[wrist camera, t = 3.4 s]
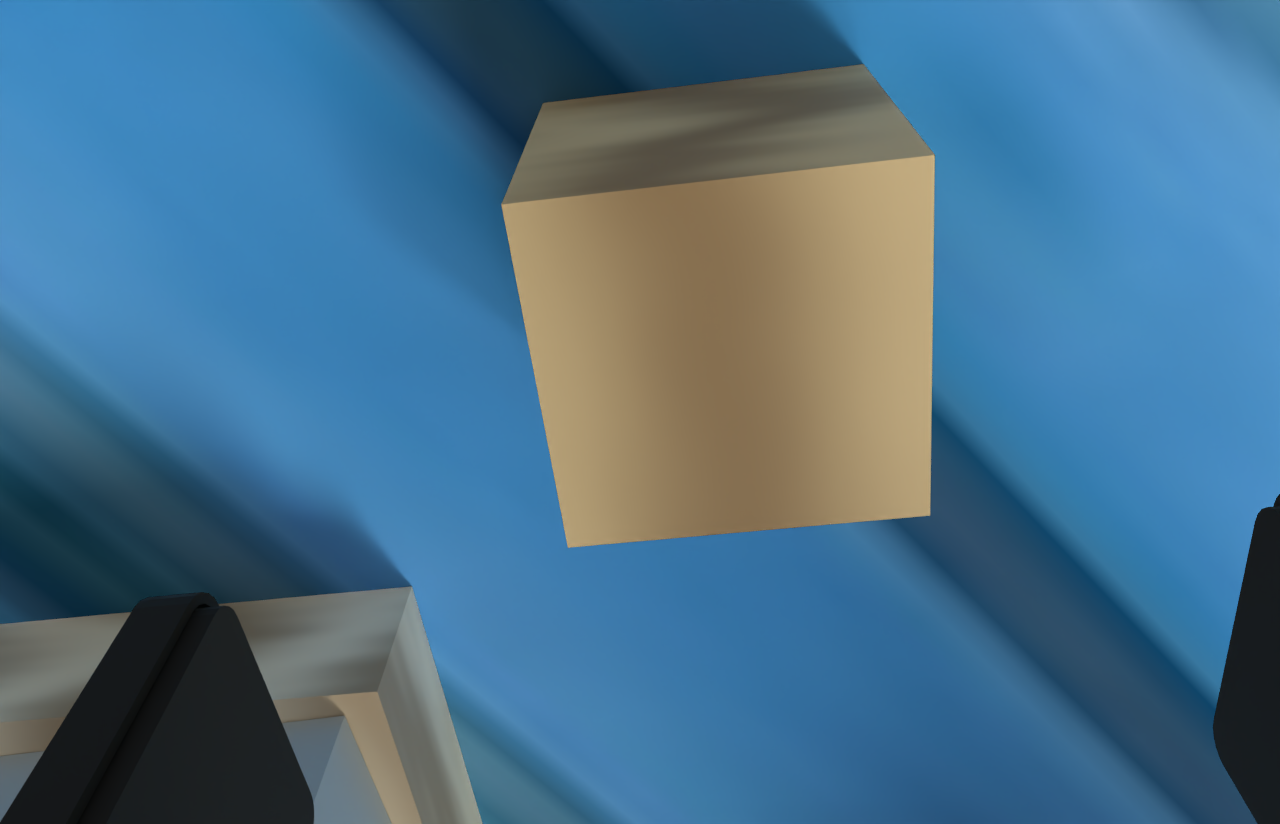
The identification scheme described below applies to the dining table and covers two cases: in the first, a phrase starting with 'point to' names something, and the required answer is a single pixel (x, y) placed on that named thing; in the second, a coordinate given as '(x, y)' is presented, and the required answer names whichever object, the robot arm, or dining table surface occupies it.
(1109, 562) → the dining table surface
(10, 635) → the birch slab
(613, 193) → the block
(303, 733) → the slate block
